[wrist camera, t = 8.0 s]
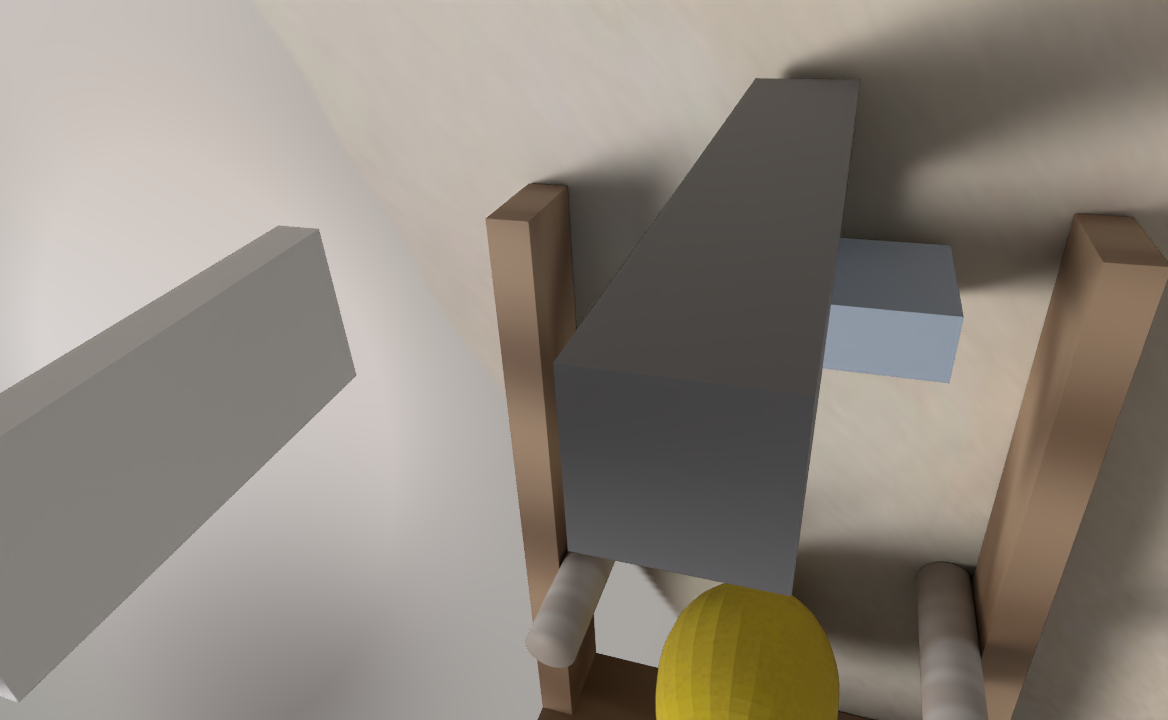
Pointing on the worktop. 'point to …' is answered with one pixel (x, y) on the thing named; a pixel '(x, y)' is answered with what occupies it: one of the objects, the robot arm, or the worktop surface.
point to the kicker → (739, 346)
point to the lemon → (747, 660)
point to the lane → (944, 591)
